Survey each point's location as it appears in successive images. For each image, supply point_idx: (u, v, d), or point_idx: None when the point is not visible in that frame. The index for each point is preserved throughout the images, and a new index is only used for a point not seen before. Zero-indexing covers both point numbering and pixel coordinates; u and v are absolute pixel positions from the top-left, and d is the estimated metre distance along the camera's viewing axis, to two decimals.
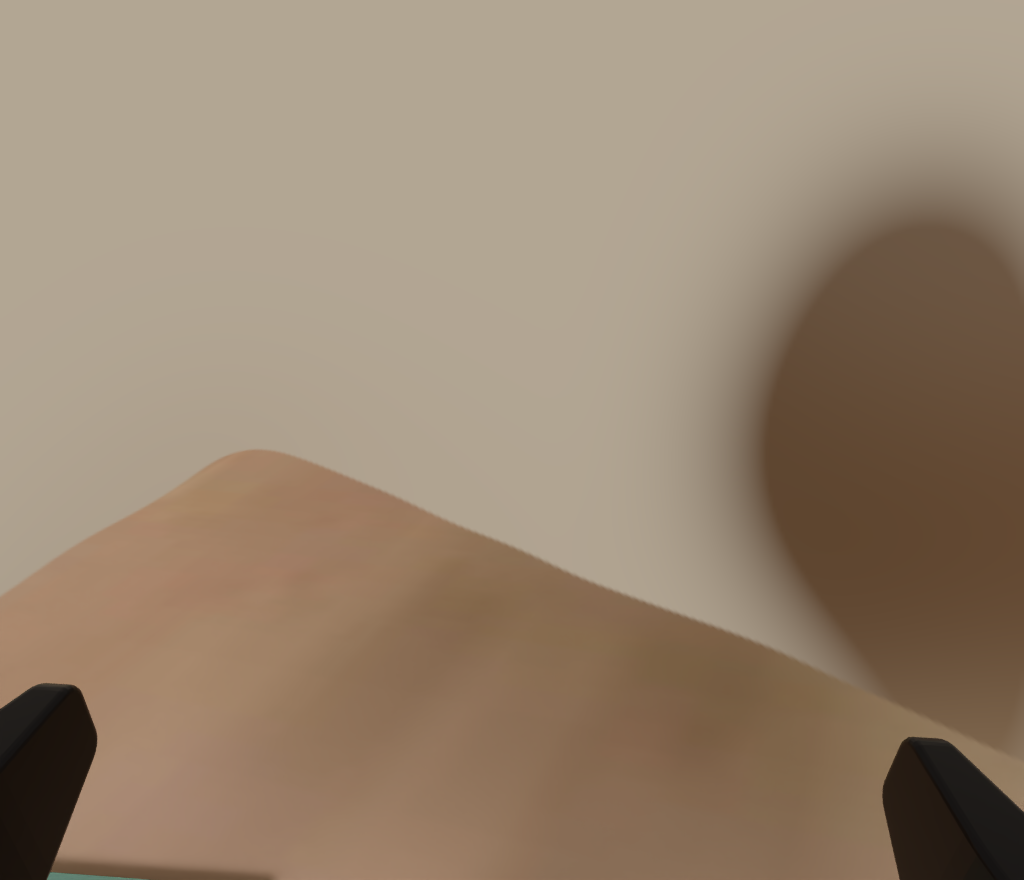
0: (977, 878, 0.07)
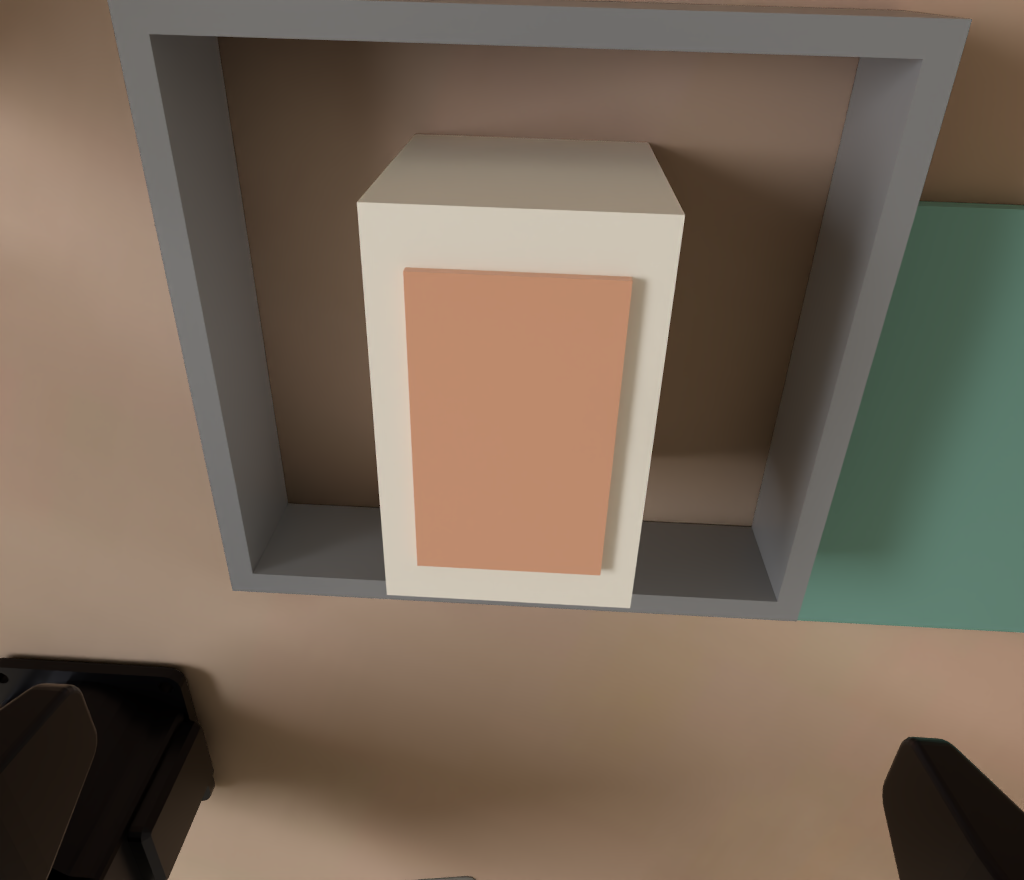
0: (977, 878, 0.07)
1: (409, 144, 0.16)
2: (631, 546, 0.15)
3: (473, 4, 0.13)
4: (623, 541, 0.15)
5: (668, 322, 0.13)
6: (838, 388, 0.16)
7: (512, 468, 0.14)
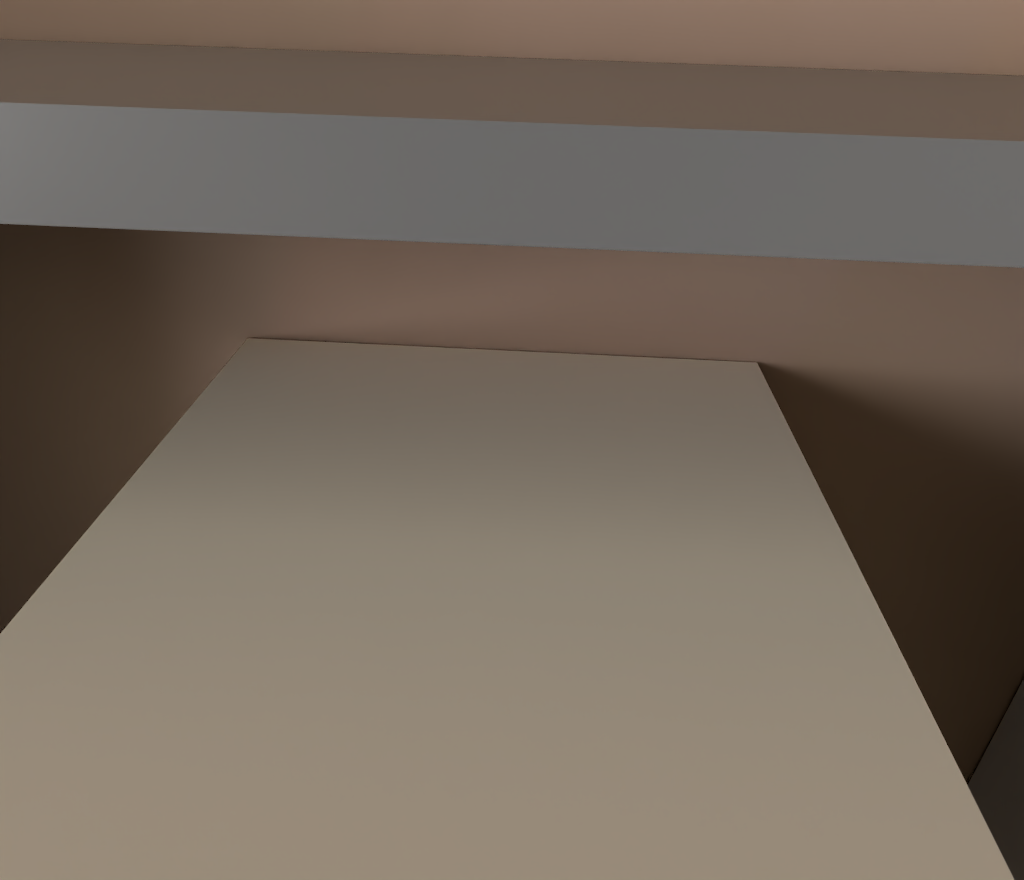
0: None
1: (205, 397, 0.07)
2: None
3: (272, 112, 0.04)
4: None
5: None
6: None
7: None
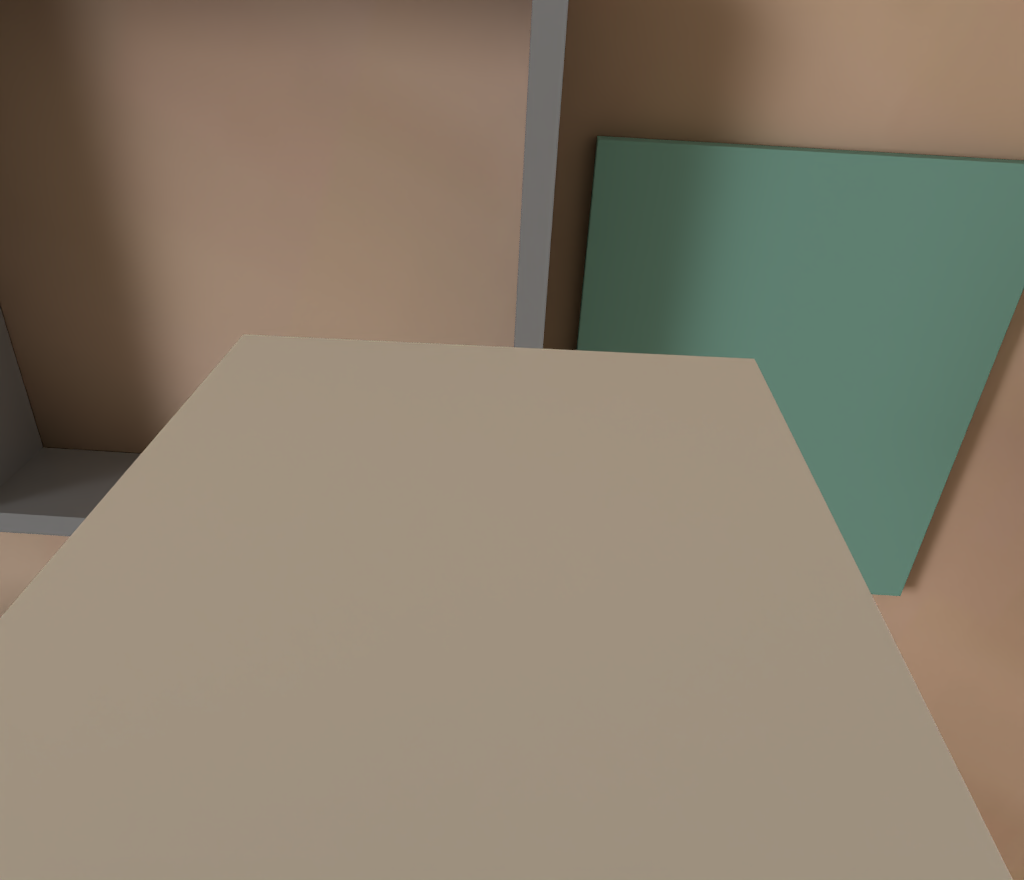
0: None
1: (200, 394, 0.07)
2: None
3: None
4: None
5: None
6: (519, 319, 0.16)
7: None
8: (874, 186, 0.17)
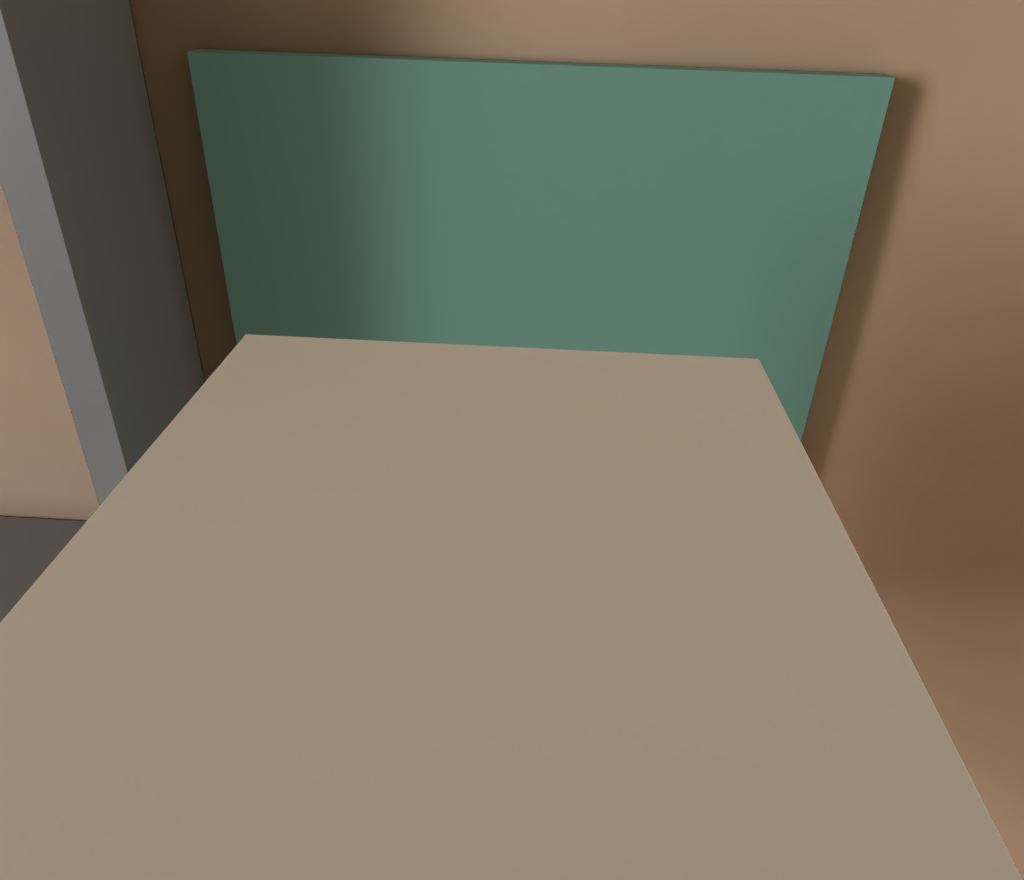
0: None
1: (203, 394, 0.07)
2: None
3: None
4: None
5: None
6: (48, 320, 0.11)
7: None
8: (604, 114, 0.11)
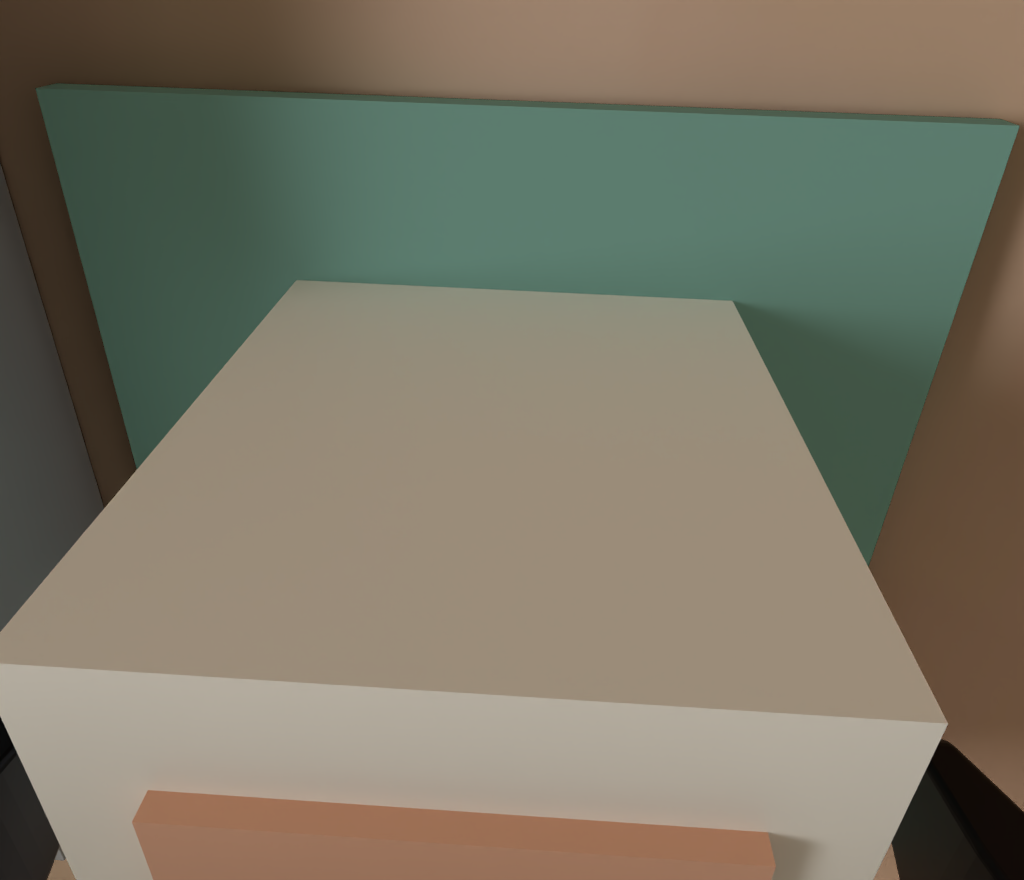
0: (977, 878, 0.07)
1: (267, 322, 0.08)
2: None
3: None
4: None
5: None
6: None
7: None
8: (612, 174, 0.08)
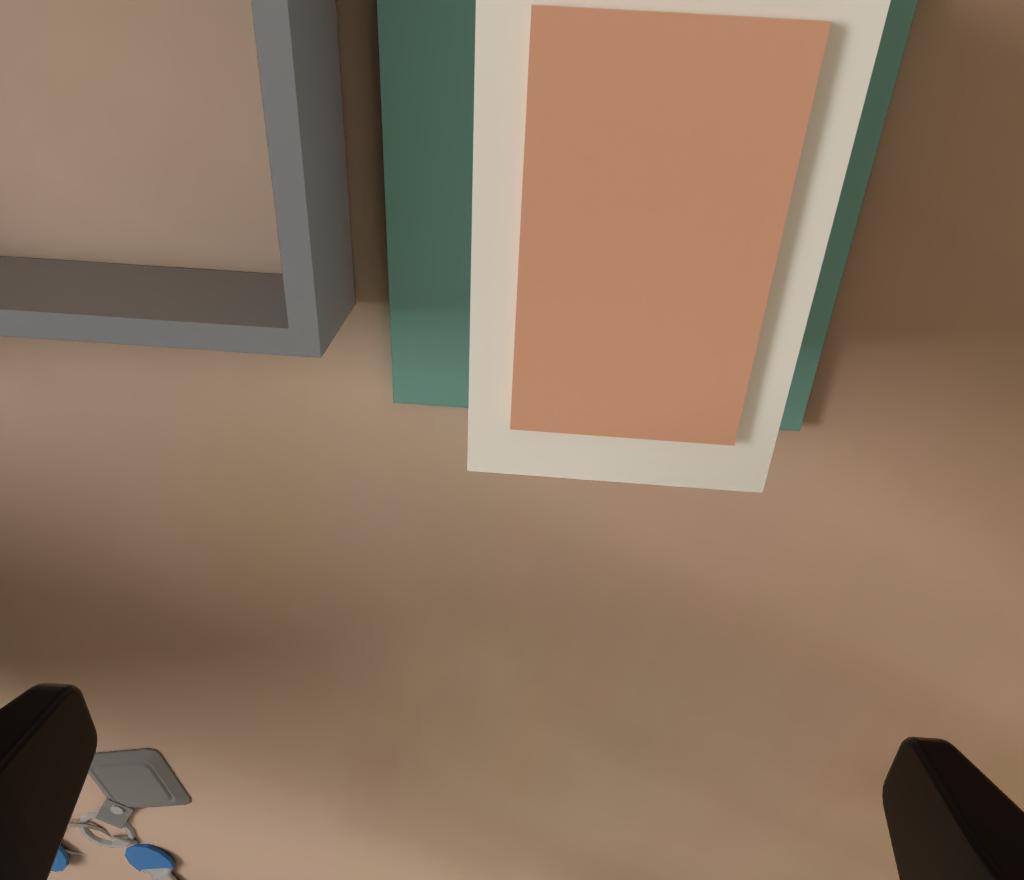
0: (977, 878, 0.07)
1: None
2: (775, 409, 0.12)
3: None
4: (765, 402, 0.12)
5: (866, 91, 0.10)
6: None
7: (642, 296, 0.11)
8: None
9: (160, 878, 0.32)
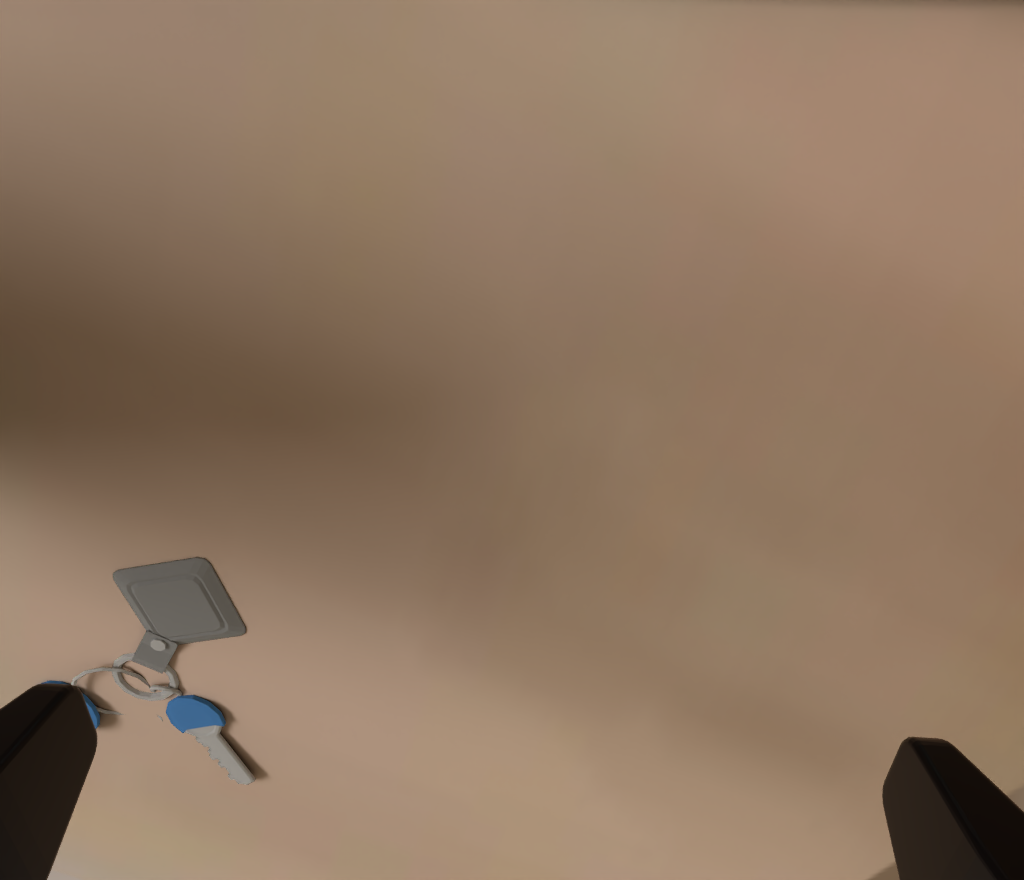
0: (977, 878, 0.07)
1: None
2: None
3: None
4: None
5: None
6: None
7: None
8: None
9: (208, 740, 0.28)
